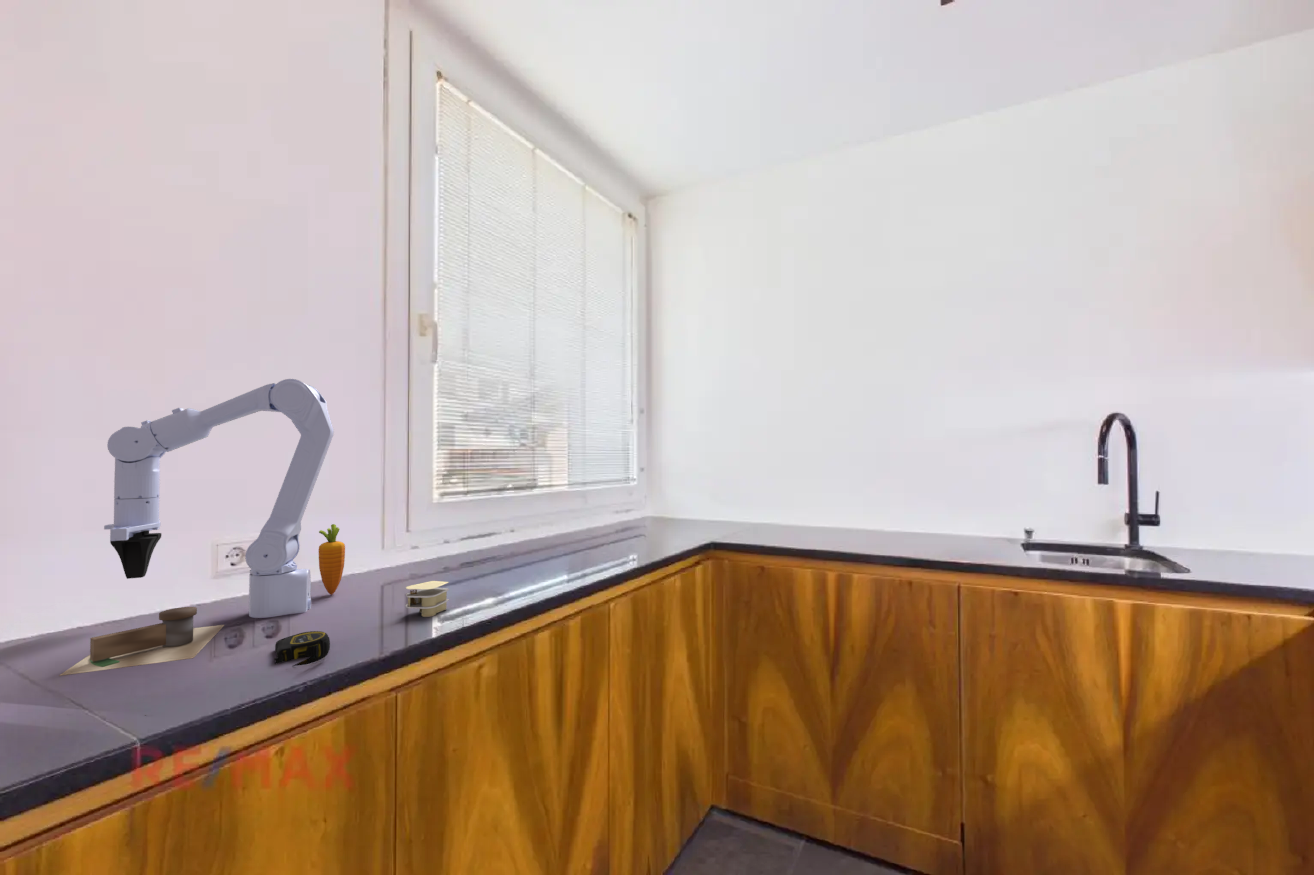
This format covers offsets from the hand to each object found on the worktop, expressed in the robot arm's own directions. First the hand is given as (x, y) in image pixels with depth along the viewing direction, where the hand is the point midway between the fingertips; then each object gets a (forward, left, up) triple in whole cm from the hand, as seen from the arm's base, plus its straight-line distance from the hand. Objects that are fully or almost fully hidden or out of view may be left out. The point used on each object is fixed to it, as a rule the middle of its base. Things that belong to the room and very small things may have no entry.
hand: (135, 577), depth 95 cm
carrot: (-28, -14, -10) cm, 33 cm away
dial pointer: (-7, +18, -8) cm, 21 cm away
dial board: (-7, +16, -9) cm, 20 cm away
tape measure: (-27, +29, -10) cm, 41 cm away
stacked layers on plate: (-46, +10, -10) cm, 48 cm away
